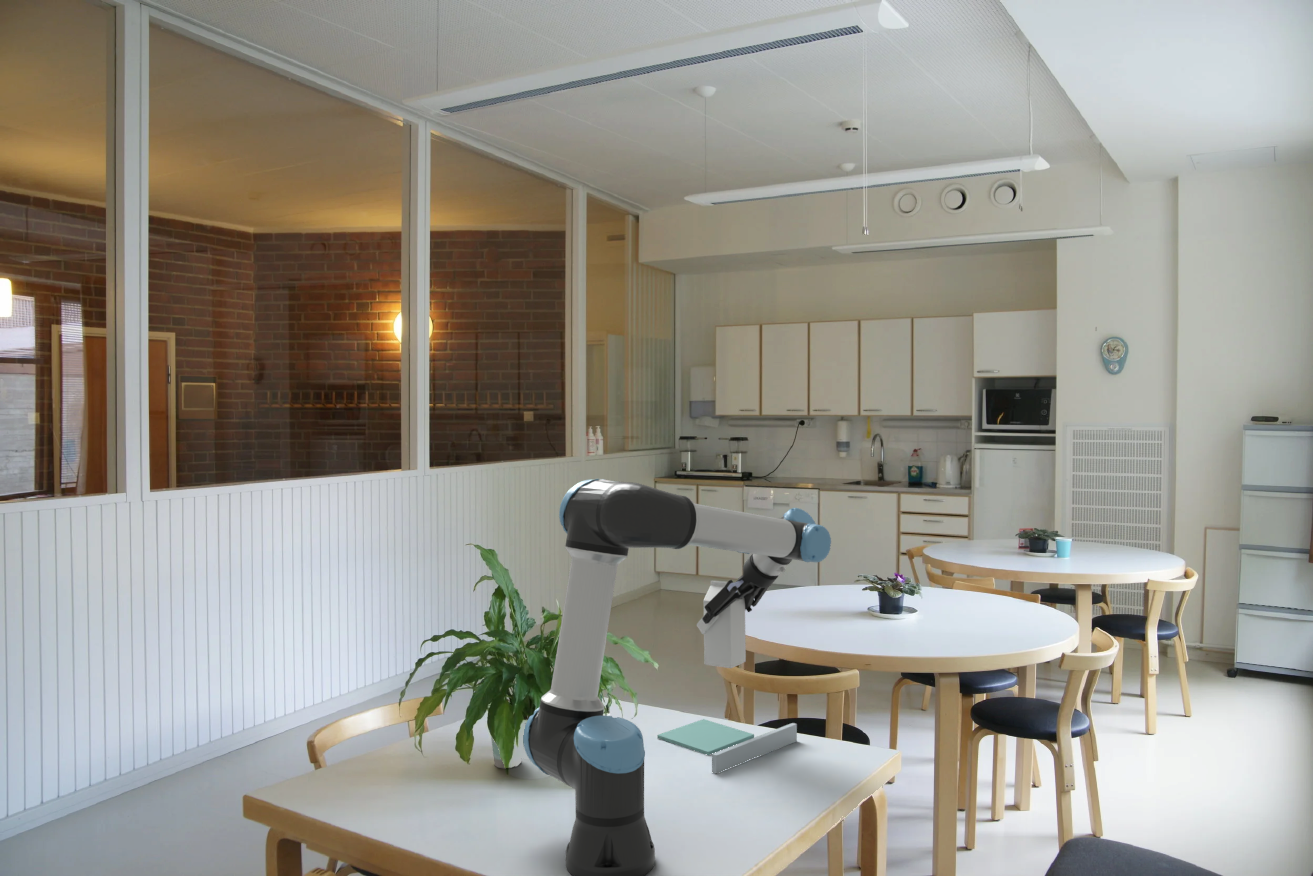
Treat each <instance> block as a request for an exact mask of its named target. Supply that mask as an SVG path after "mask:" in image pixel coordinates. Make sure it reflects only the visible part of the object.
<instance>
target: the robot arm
mask: <svg viewBox="0 0 1313 876" xmlns="http://www.w3.org/2000/svg"><path fill="white" fill-rule="evenodd" d="M558 511H559V514H558V515H559V516H558V517H559V522H560V525H561V526H562V528H563V531H564V532H565V533H566V540H565V545H564V548H565V550H566V551H567V553H568V554H569V556H570V558H571V561H570V567H569V573H568V580H567V587H566V591H565V599H564V603H563V604H564V605H563V610H562V617H561V622H560V623H561V624H560V630H559V636H558V644H557V648H556V655H555V661H554V667H553V673H552V674H553V675H552V678H551V679H552V680H551V686H550V689H549V690H548V691H547V692H546V693H545V694H543V695H542V696H541V698H540V702H539V707H538V708H536V709H535V710H534V711H533V714H532V715H530V716H529V717H528V718H527V720H526V723H525V729H524V735H523V749H524V751H525V754H526V756H527V758H528V759H529V760H530V762H531V763H532V764H533V765H534V766H535V767H537V768H538V769H539V771H541V772H542V773H544V774H545V775H548V776H549V777H552V778H554V779H556V780H558V781H560V782H561V783H563V784H565V785H567V786H569V787H571V789H574V790H575V793H574V794H575V818H574V819H575V820H574V823H573V827H572V831H571V834H570V835H571V836H570V838H569V839H570V840H569V842H568V844H567V846H566V849H565V868H566V870H567V871H568V872H569V873H570V874H571V875H572V876H645V875H648V873H649V872H651V871H652V870H653V868H654V866H655V864H656V849H655V844H654V842H653V840H652V837H651V833H650V829H649V827H648V824H647V821H646V818H645V755H646V750H645V746H644V737H643V733H642V730H641V729H640V728H639V727H638V726H637V724H636V723H633V722H632V721H631V720H628V719H625V718H623V717H618V716H617V717H613V716H612V715H604V711H605V705H604V703H603V702H602V700H601V699H600V698H599V689H600V684H601V683H600V681H601V677H602V676H601V675H602V669H603V665H604V664H603V662H604V658H605V657H604V656H605V650H606V643H607V636H608V630H609V623H610V617H611V612H612V611H611V610H612V603H613V597H614V593H615V591H614V590H615V585H616V578H617V572H618V567H619V565H620V563H622V562H623V561H625V559H627V558H628V556H629V555H628V554H629V548H630V549H633V548H634V549H642V548H643V549H646V548H647V549H648V548H649V549H651V548H652V549H653V548H654V549H655V548H656V549H657V548H661V549H663V548H664V549H673V550H682V549H684V548H686V547H687V546H692V547H694V546H695V547H701V548H709V549H716V550H722V551H723V550H724V551H731V552H737V553H739V554H748V555H749V554H751V555H750V556H749V557H748V559H746V561H745V562H744V564H743V566H742V567H743V569H742V570H743V571H742V572H743V573H742V574H741V576H740V577H739V578H737V581H735V582H734V581H733V579H730V580H728V581H726V582H727V584H726V585H725V587H724V588H723V589H722V590H721V591H720V592H719V593H718V594H717V595H716V596H715V597H714V598H713V599H712V600H711V601H710V602H709V603H708V604H707V605H706V606H705V607H704V606H703V609H704V608H705V609H706V611H707V612H706V614H705V615H704V614H703V615H702V617H701V618H700V619H699V620H698V622H697V623H696V627H697V628H698V630H699V631H700V633H701V635H704V634H705V633H706V631H707V630H708V629H709V628H710V627H711V626H712V624H713V623H714V622H715V621H716V620H717V618H718V617H719V616H718V614H720V613H721V612H722V611H723V610H725V609H726V608H727V607H728V606H729V605H731V604H732V603H733V602H734V601H736V600H737V599H741V598H743V597H744V599H745V611H747V613H750V612H752V611H753V608H754V607H756V606H757V605H758V603H759V602H760V601H761V599H762V598H763V596H764V595H765V593H766V591H768V589H769V588H770V587H771V586H772V584H773V583H775V581H776V580H777V579H778V577H779V576H780V575H781V573H785V572H786V568H787V567H788V566H789V565H790V564H791V562H792V561H793V560H794V561H801V562H803V563H804V562H805V563H820V562H822V561H824V560H825V559H826V558H827V557H828V555H829V553H830V551H831V544H832V538H831V534H830V532H829V530H828V529H827V528H826V527H825V526H824V525H821V524H816V522H815V520H814V519H813V517H812V516H811V515H810V514H809V513H808V512H807V511H805V510H803V509H802V508H799V507H792V508H789V509H788V510H787V511H786V512H784V514H783V515H782V517H775V516H767V515H763V514H756V513H750V512H746V511H738V510H734V509H727V508H722V507H716V506H711V505H706V504H705V505H704V504H699V503H694V501H693V500H692V499H691V498H690V497H688V496H687V495H681V494H676V493H671V492H669V491H664V490H662V489H658V488H655V487H652V486H649V485H647V484H642V483H639V482H638V483H637V482H631V481H619V480H618V481H617V480H612V479H611V480H610V479H605V478H595V479H585V480H582V481H579V482H577V483H576V484H574V485H573V486H572V487H570V488H569V489H568V491H567V492H566V493H565V494H564V496H563V498H562V500H561V503H560V506H559V510H558ZM737 590H738V591H739V593H740V595H739V593H738V592H737ZM752 607H753V608H752Z"/></svg>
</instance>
